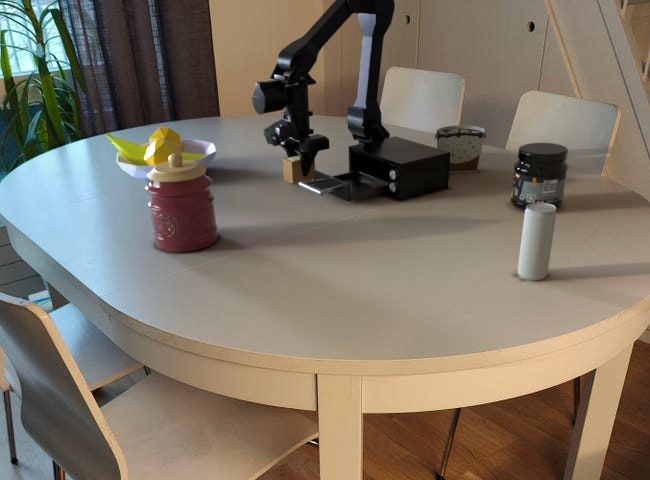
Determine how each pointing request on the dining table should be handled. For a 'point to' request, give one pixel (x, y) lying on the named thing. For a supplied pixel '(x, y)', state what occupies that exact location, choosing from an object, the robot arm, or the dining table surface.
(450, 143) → the food container
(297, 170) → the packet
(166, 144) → the fruit bowl
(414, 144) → the toaster oven
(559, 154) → the supplement container
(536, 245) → the beverage can
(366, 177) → the tray
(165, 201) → the kitchen canister
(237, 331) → the dining table surface
